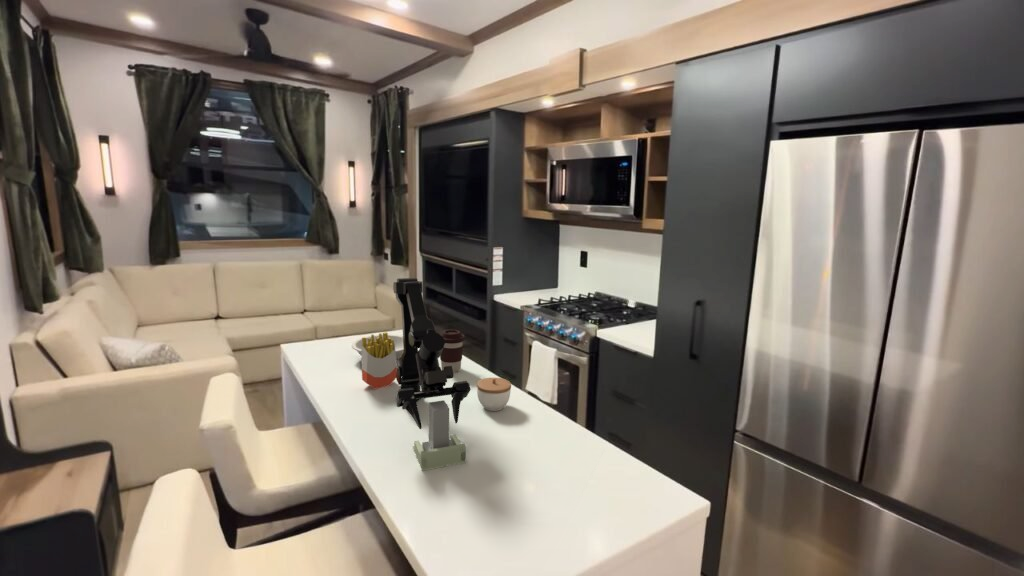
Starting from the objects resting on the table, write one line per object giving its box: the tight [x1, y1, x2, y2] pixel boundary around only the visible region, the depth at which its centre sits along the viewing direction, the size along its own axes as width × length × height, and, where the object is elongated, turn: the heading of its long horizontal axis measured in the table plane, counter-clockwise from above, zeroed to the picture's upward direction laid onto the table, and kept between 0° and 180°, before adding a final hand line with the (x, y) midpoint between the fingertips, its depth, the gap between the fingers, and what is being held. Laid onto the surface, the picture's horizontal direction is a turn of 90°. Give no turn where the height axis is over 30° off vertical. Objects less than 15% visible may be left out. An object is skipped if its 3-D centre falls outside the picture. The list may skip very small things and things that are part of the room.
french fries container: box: [361, 331, 398, 390], centre depth 161 cm, size 5×11×18 cm, turn 129°
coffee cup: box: [439, 329, 466, 373], centre depth 178 cm, size 10×10×15 cm
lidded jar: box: [476, 377, 512, 412], centre depth 148 cm, size 11×11×9 cm
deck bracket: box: [412, 433, 467, 472], centre depth 119 cm, size 11×11×4 cm
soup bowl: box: [351, 334, 404, 360], centre depth 189 cm, size 24×24×7 cm
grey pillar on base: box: [421, 400, 453, 451], centre depth 119 cm, size 6×7×13 cm
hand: (438, 425), depth 118 cm, fingers open, 9 cm apart
